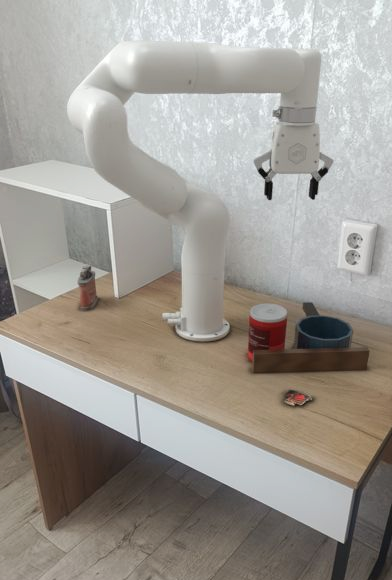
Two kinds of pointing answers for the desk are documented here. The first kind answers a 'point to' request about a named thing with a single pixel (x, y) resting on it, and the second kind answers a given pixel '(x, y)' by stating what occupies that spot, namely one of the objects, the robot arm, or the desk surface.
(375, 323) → the desk surface
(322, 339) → the saucepan
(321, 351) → the wooden board
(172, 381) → the desk surface
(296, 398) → the mottled red brown piece
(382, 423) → the desk surface
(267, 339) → the canned food
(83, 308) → the lighter
